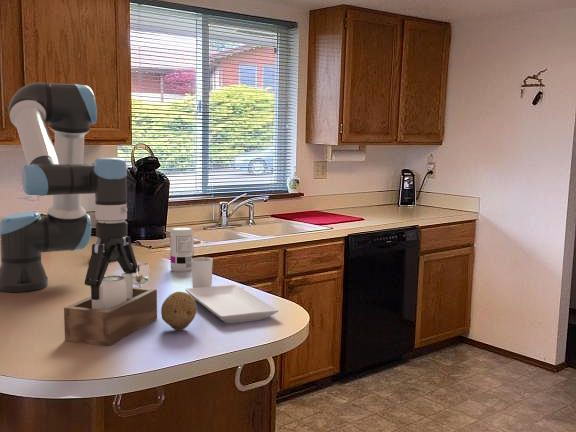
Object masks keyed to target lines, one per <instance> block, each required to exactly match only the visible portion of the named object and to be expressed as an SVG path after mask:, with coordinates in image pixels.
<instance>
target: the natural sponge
mask: <svg viewBox="0 0 576 432" xmlns="http://www.w3.org/2000/svg"><path fill="white" fill-rule="evenodd" d="M197 308H198V306H197V303H196V299H194V298H193V297H192V296H191V295H190V294H189V293H188V292H183V291H175V292H172V293H170V294H169V295H168V296H167V297H166V299H165V300H164V301H163V303H162V304H161V309H160V310H161V311H160V312H161V313H160V314H161V319H162V320H163V322H164V323H165V324H166V325H168V326H170V328H172V329H174V330H176V331H177V332H179V331H183V330H185V329H186V328H187V327H188V326H189V325H191V323H192V322H193V321H194V319H195V317H196V314H197Z"/></svg>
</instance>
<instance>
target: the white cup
mask: <svg viewBox="0 0 576 432" xmlns="http://www.w3.org/2000/svg"><path fill="white" fill-rule="evenodd" d="M213 260H214V258H211V257H202V256H201V257H194V258H193V259H191V264H192V270H191V278H192V279H191V281H192V283H191V284H192V288H201V287H213V285H212V284H213V283H212V281H213V262H214V261H213Z"/></svg>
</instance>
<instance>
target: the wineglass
mask: <svg viewBox="0 0 576 432" xmlns="http://www.w3.org/2000/svg"><path fill="white" fill-rule="evenodd" d="M136 262H137V266H138V268H137V272H136V273H132V275H133V285H135V286H136V287H137V286H138V287H137V288H142V287H143V286H144V285H146V284H148V283H149V282H150V278H151V271H150V267H149V263H148V262H146V261H145V262H143V261H136Z"/></svg>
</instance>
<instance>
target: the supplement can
mask: <svg viewBox="0 0 576 432" xmlns="http://www.w3.org/2000/svg"><path fill="white" fill-rule="evenodd" d="M169 236H170V237H169V239H170V242H169V244H170V247H169V248H170V249H169V250H170V269H171V270H172V272H176V273H185V272H186V273H187V272H190V271H191V272H192V264H191V259H193V258H195V254H194V253H195V250H194V247H195V246H194V245H195V244H194V241H195V240H194V239H195V238H194V236H195V235H194V231H193V228H191V227H187V226H186V227H184V226H182V227H181V226H179V227H173V228H171V231H170V235H169Z"/></svg>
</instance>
